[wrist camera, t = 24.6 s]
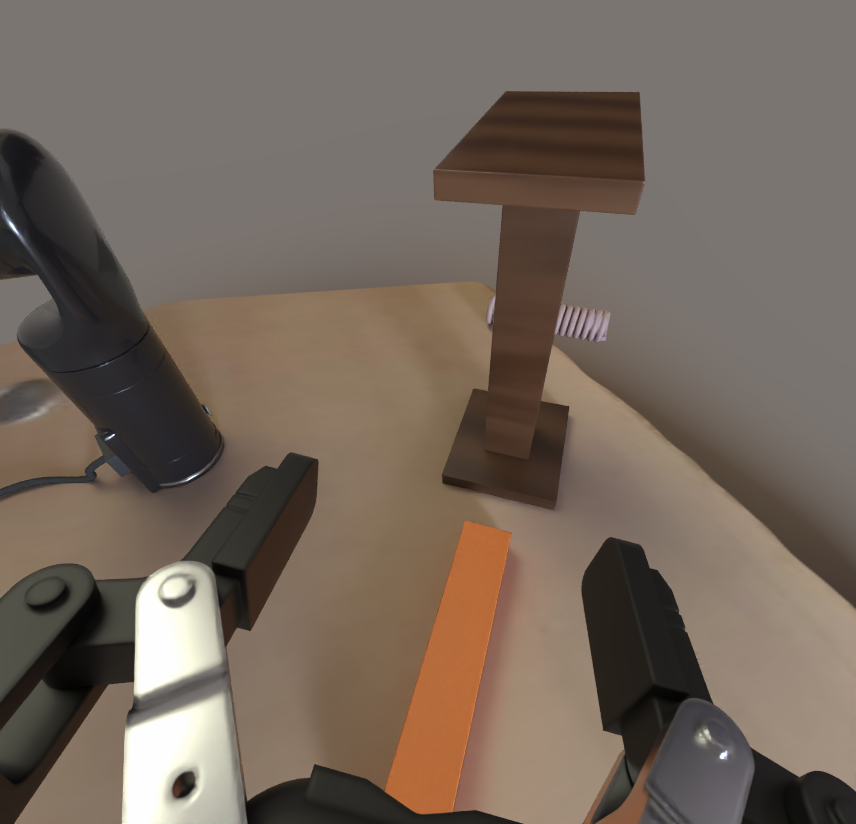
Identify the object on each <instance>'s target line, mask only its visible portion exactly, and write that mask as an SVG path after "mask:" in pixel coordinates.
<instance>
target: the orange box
mask: <svg viewBox="0 0 856 824" xmlns="http://www.w3.org/2000/svg"><path fill="white" fill-rule="evenodd" d="M510 538H511V533H510V532H506V531H502V530H499V529H495V528H491V527H487V526H484V525H480V524H476V523H473V522H469V521H465V523H464V526H463V529H462V533H461V536H460V539H459V543H458V546H457V549H456V553H455V556H454V559H453V563H452V566H451V569H450V573H449V576H448V580H447V583H446V586H445V590H444V593H443V596H442V600H441V603H440V606H439V610H438V613H437V616H436V620H435V623H434V626H433V630H432V633H431V636H430V640H429V643H428V646H427V650H426V653H425V656H424V660H423V663H422V666H421V670H420V673H419V677H418V680H417V683H416V687H415V690H414V693H413V697H412V700H411V703H410V707H409V710H408V713H407V717H406V720H405V723H404V727H403V730H402V733H401V737H400V740H399V743H398V747H397V750H396V753H395V757H394V760H393V763H392V767H391V770H390V773H389V777H388V780H387V784H386V787H385V790H384V791H385V792H386V793H388V794H389V795H390V796H392V797H393V798H395V799H396V800H398V801H399V802H401V803H402V804H403V805H405V806H406V807H408V808H409V809H411V810H412V811H414V812H416V813H418V814H434V813H447V812H453V807H454V803H455V798H456V793H457V788H458V784H459V779H460V774H461V770H462V765H463V760H464V755H465V751H466V746H467V741H468V737H469V732H470V727H471V722H472V718H473V713H474V708H475V704H476V699H477V694H478V689H479V685H480V680H481V675H482V670H483V666H484V661H485V656H486V652H487V647H488V642H489V637H490V633H491V628H492V623H493V619H494V614H495V609H496V604H497V600H498V595H499V590H500V586H501V581H502V576H503V571H504V567H505V562H506V557H507V553H508V548H509V543H510Z"/></svg>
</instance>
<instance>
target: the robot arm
mask: <svg viewBox="0 0 856 824" xmlns="http://www.w3.org/2000/svg"><path fill="white" fill-rule="evenodd" d="M34 275H38V276H39V278H40V279H41V280H42V282H43V283H44V285H45V286H46V288H47V289H48V291H49V293H50V294H51V296H52V299H51V300H49V301H47V302H46V303H44V304H42V305H41V306H39V307H38V308H36V309H35V310H34V311H32V312H31V313H30V314H29V315H28V316H27V317H26V318H25V319H24V321H23V322H22V323H21V324H20V326H19V328H18V331H17V339H18V342H19V344H20V346H21V347H22V349H23V350H24V351H25V352H26V353H27V355H28V356H29V357H30V358H31V359H32V360H33V361H34V362H35V363H36V364H37V365H38V366H39V367H40V368H41V369H42V370H43V371H44V372H45V373H46V374H47V376H48V377H49V378H50V379H51V380H52V381H53V382H54V383H55V384H56V385H57V386H58V387H59V388H60V389H61V390H62V391H63V393H64V394H65V395H66V396H67V397H68V398H69V399H70V400H71V401H72V402H73V403H74V404H75V405H76V406H77V407H78V408H79V410H80V411H81V412H82V413H83V414H84V415H85V416H86V417H87V418H88V419H89V420H90V421H91V422H92V423H93V424H94V426H95V428H96V430H97V433H98V434H96V435H95V438H96V440H97V442H98V445H99V447H100V449H101V451H102V454H103V456H101V457H100V458H98V459H97V460H95V461H94V462H92V463H91V464H90V465H89V466H88V467H87V468H86V470H85V474H86V476H79V477H41V478H34V479H29V480H25V481H22V482H18V483H15V484H12V485H10V486H7V487H4V488H2V489H0V496H2V495H5V494H7V493H10V492H12V491H15V490H18V489H21V488H25V487H28V486H33V485H39V484H51V483H83V482H89V481H91V480H94V479H95V478H96V477H97V474H96V473H95V472H94V470H95V469H96V468H98V467H99V466H101V465H102V464H104V463H105V462H107V463H108V464H109V465H110V466H111V467H112V468H113V469H114V470H115V471H116V472H117V473H118V474H119V475H120V476H121V477H123V476H125V475H127V474H129V473H130V472H132V473H133V474H134V475H135V476H136V477H137V478H138V479H139V480H140V481H141V482H142V483H143V484H144V485H145V486H146V487H147V488H148V489H149V490H150V491H151V492H152V493H154V492H156V491H157V490H159V489H161V488H171V487H177V486H181V485H184V484H187V483H189V482H191V481H193V480H195V479H197V478H199V477H200V476H202V475H203V474H205V473H206V472H207V471H208V470H209V469H210V468H212V466H213V465H214V464H215V463H216V462H217V460H218V459H219V457H220V455H221V453H222V450H223V444H224V443H223V438H222V436H221V434H220V432H219V431H218V430H217V428H216V427H215V425H214V424H213V422H212V421H211V420H210V418H209V417H208V415H207V414H209V415H211V413H210V412H209V410H208V409H207V407H206V406H204V405H202V404H200V402H199V401H198V399H197V397H196V396H195V394H194V393H193V391H192V389H191V388H190V386H189V385H188V383H187V382H186V380H185V378H184V377H183V375H182V374H181V372H180V370H179V369H178V367H177V366H176V364H175V362H174V361H173V359H172V358H171V356H170V354H169V353H168V351H167V350H166V348H165V347H164V345H163V343H162V342H161V340H160V339H159V337H158V335H157V334H156V332H155V331H154V329H153V327H152V326H151V324H150V323H149V321H148V320H147V318H146V316H145V315H144V313H143V311H142V310H141V308H140V306H139V303H138V301H137V298H136V296H135V293H134V290H133V288H132V285H131V283H130V281H129V279H128V277H127V276H126V274H125V272H124V270H123V268H122V266H121V265H120V263H119V261H118V259H117V258H116V256H115V254H114V252H113V250H112V249H111V247H110V245H109V243H108V241H107V240H106V238H105V236H104V234H103V232H102V230H101V228H100V226H99V225H98V223H97V221H96V219H95V217H94V215H93V213H92V211H91V210H90V208H89V206H88V204H87V203H86V201H85V199H84V197H83V196H82V194H81V192H80V190H79V189H78V187H77V186H76V184H75V183H74V181H73V180H72V178H71V177H70V175H69V174H68V172H67V171H66V170H65V168H64V167H63V166H62V165H61V163H60V162H59V161H58V160H57V159H56V158H55V157H54V156H53V155H52V154H51V153H50V152H49V151H48V150H47V149H46V148H45V147H44V146H43V145H42V144H40V143H39V142H38V141H36V140H35V139H34V138H32V137H30V136H29V135H27V134H25V133H23V132H20V131H16V130H13V129H7V128H0V280H3V279H11V278H19V277H27V276H34ZM317 480H318V460H317V459H315V458H311V457H307V456H303V455H299V454H296V453H292V452H291V453H289V454H288V455H287V456H286V457H285V459H284V460H283V462H282V463H281V464H280V466H279V467H278V469H275V468H272V467H268V466H265V467H263V468H261V469H260V470H258V471H257V472H255V473H253V474H252V475H250V476H248V477H247V479H246V480H245V481H244V483H243V484H242V485H241V486H240V488H239V489H238V490H237V491H236V494H235V495H233V497H232V498H231V499H230V500H229V502H228V503H227V505H226V507H224V508H223V509H222V511H221V512H220V513H219V514H218V516H217V517H216V518H215V519H214V521H213V522H212V523H211V524H210V526H209V527H208V528H207V530H206V531H205V532H204V533H203V535H202V536H201V537H200V538H199V540H198V541H197V542H196V544H195V545H194V546H193V547H192V549H191V550H190V551H189V552H188V554H187V555H186V556H185V557H184V558H183V559H182V560H181V561H180V562H175V563H172V564H169V565H167V566H165V567H163V568H161V569H159V570H157V571H156V572H155V573H153V574H152V575H151V576H148V577H143V578H131V579H108V580H95V579H94V577H93V575H92V573H91V571H89V570H88V569H87V568H86V567H84V566H81V565H78V564H71V563H70V564H57V565H53V566H49V567H46V568H43V569H40V570H38V571H36V572H34V573H32V574H30V575H28V576H26V577H25V578H23V579H22V580H20V581H19V582H18V583H16V584H15V585H14V586H13V587H12V588H11V589H10V590H9V591H8V592H7V593H5V594H4V595H3V596H2V597H1V598H0V824H14V823H15V821H16V820H17V818H18V817H19V815H20V814H21V812H22V811H23V809H24V808H25V806H26V805H27V804H28V802H29V801H30V799H31V798H32V796H33V795H34V793H35V792H36V790H37V789H38V787H39V786H40V784H41V783H42V781H43V780H44V778H45V777H46V776H47V774H48V773H49V771H50V770H51V768H52V767H53V765H54V764H55V762H56V761H57V759H58V758H59V756H60V755H61V753H62V752H63V750H64V749H65V748H66V746H67V745H68V743H69V742H70V740H71V739H72V737H73V736H74V734H75V733H76V731H77V730H78V728H79V727H80V725H81V724H82V722H83V721H84V720H85V718H86V717H87V715H88V714H89V712H90V711H91V709H92V708H93V706H94V705H95V703H96V702H97V700H98V699H99V697H100V696H101V694H102V693H103V692H104V690H105V689H106V687H107V686H108V684H116V683H127V682H134V702H133V707H132V709H131V710H130V711H129V712H128V715H127V720H126V728H125V748H124V779H123V810H122V824H522V823H519V822H515V821H512V820H508V819H505V818H501V817H498V816H494V815H491V814H487V813H484V812H480V811H477V810H473V811H460V812H447V813H434V814H418V813H416V812H414V811H412V810H411V809H409V808H408V807H406V806H405V805H403V804H402V803H401V802H399V801H398V800H396V799H395V798H393V797H392V796H390V795H389V794H388V793H386V792H385V791H383V790H382V789H380V788H379V787H377V786H376V785H374V784H373V783H372V782H370V781H369V780H367V779H365V778H361V777H358V776H354V775H351V774H347V773H344V772H340V771H337V770H333V769H330V768H326V767H323V766H319V765H316V764H314V767H313V770H312V774H311V777H310V778H302V779H295V780H291V781H287V782H283V783H281V784H278V785H276V786H273V787H271V788H269V789H267V790H265V791H263V792H261V793H259V794H258V795H256V796H254V797H253V798H252V799H250V800H249V801H247V796H246V789H245V781H244V774H243V766H242V759H241V752H240V745H239V738H238V731H237V724H236V717H235V709H234V702H233V694H232V687H231V680H230V672H229V665H228V657H227V650H226V646H227V644H228V642H229V640H230V639H231V637H232V635H233V633H234V632H235V630H236V628H237V627H238V628H242V629H245V630H249V631H251V629H252V627H253V625H254V624H255V622H256V620H257V618H258V616H259V614H260V612H261V610H262V609H263V607H264V605H265V603H266V601H267V599H268V597H269V595H270V594H271V592H272V590H273V588H274V586H275V584H276V582H277V580H278V578H279V577H280V575H281V573H282V571H283V569H284V567H285V565H286V563H287V562H288V560H289V558H290V556H291V554H292V552H293V550H294V548H295V547H296V545H297V543H298V541H299V539H300V537H301V535H302V533H303V532H304V530H305V528H306V526H307V524H308V522H309V520H310V518H311V516H312V513H313V510H314V507H315V503H316V497H317ZM581 590H582V599H583V605H584V612H585V618H586V624H587V630H588V637H589V643H590V649H591V656H592V662H593V668H594V675H595V681H596V687H597V694H598V700H599V706H600V712H601V719H602V725H603V731H607V732H610V733H614V734H618V735H621V736H622V738H623V743H624V750H623V751H622V752H621V753H620V754H619V756H618V758H617V760H616V761H615V763H614V765H613V767H612V769H611V771H610V773H609V775H608V777H607V778H606V780H605V782H604V784H603V786H602V788H601V790H600V792H599V794H598V795H597V797H596V799H595V801H594V803H593V805H592V807H591V809H590V811H589V812H588V814H587V816H586V818H585V820H584V822H583V824H856V791H854V790H853V789H852V788H851V787H850V786H848V785H847V784H846V783H844V782H843V781H841V780H840V779H838V778H836V777H835V776H833V775H831V774H828V773H826V772H822V771H812V772H809V773H807V774H805V775H803V776H801V777H798V776H796V775H795V774H793V773H791V772H790V771H788V770H786V769H785V768H783V767H781V766H780V765H778V764H777V763H775V762H773V761H772V760H770V759H768V758H767V757H765V756H763V755H762V754H760V753H758V752H757V751H755V750H754V749H752V748H751V747H750V746H749V744H748V742H747V740H746V738H745V736H744V735H743V733H742V731H741V730H740V729H739V727H738V726H737V725H736V724H735V722H734V721H733V720H732V719H731V718H730V717H729V716H728V715H727V714H726V713H725V712H723V711H722V710H721V709H720V708H718V707H717V706H715V705H714V704H713V702H712V699H711V697H710V694H709V692H708V689H707V686H706V683H705V681H704V678H703V675H702V672H701V669H700V667H699V664H698V661H697V658H696V656H695V653H694V650H693V647H692V645H691V642H690V639H689V636H688V634H687V632H685V625H684V622H683V620H682V617H681V615H679V609H678V606H677V603H676V600H675V598H674V595H673V592H672V590H671V588H670V587H669V586H668V584H667V583H666V581H665V580H664V579H663V577H662V576H661V575H660V573H659V572H658V570H654V569H650V568H649V565H648V562H647V559H646V556H645V552H644V550H643V548H642V547H641V546H640V545H639V544H635V543H631V542H627V541H623V540H620V539H616V538H612V537H610V538H608V539H606V541H605V542H604V543H603V545H602V546H601V548H600V550H599V551H598V553H597V554H596V556H595V557H594V559H593V560H592V562H591V563H590V565H589V566H588V568H587V569H586V571H585V573H584V576H583V580H582V589H581Z"/></svg>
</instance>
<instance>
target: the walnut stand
mask: <svg viewBox="0 0 856 824" xmlns="http://www.w3.org/2000/svg"><path fill="white" fill-rule="evenodd" d="M433 174H434V199H435V200H441V201H455V202H468V203H482V204H495V205H503V208H502V221H501V233H500V246H499V247H500V248H499V259H498V272H497V284H496V285H497V286H496V297H495V310H494V323H493V335H492V348H491V361H490V374H489V386H488V391H484V390H478V389H473V391H472V394H471V397H470V399H469V402H468V405H467V408H466V410H465V413H464V416H463V419H462V421H461V424H460V427H459V430H458V432H457V435H456V438H455V441H454V443H453V446H452V449H451V452H450V454H449V457H448V460H447V463H446V465H445V468H444V471H443V474H442V482H443V483H447V484H451V485H455V486H459V487H463V488H467V489H471V490H475V491H479V492H483V493H487V494H492V495H496V496H500V497H504V498H508V499H512V500H516V501H520V502H524V503H528V504H532V505H536V506H540V507H544V508H548V509H552V510H554V507H555V504H556V500H557V492H558V485H559V478H560V471H561V463H562V456H563V449H564V441H565V434H566V427H567V419H568V412H569V406H564V405H559V404H553V403H548V402H543V401H541V396H542V391H543V387H544V382H545V377H546V372H547V367H548V363H549V358H550V353H551V348H552V343H553V339H554V334H555V329H556V324H557V319H558V315H559V310H560V305H561V300H562V295H563V290H564V286H565V281H566V276H567V271H568V267H569V262H570V257H571V252H572V247H573V243H574V238H575V233H576V228H577V223H578V219H579V214H580V211H590V212H603V213H617V214H630V215H635V214H636V212H637V208H638V205H639V201H640V198H641V195H642V192H643V188H644V185H645V172H644V156H643V139H642V123H641V108H640V93H639V92H520V91H518V92H516V91H514V92H513V91H506V92H505V93H504V94H503V95H502V96H501V97H500V98H499V99H498V100H497V101H496V103H495V104H494V105H493V106H492V107H491V108H490V109H489V110H488V111H487V112H486V113H485V114H484V116H483V117H482V118H481V119H480V120H479V121H478V122H477V123H476V124H475V125H474V126H473V127H472V129H471V130H470V131H469V132H468V133H467V134H466V135H465V136H464V137H463V138H462V139H461V141H460V142H459V143H458V144H457V145H456V146H455V147H454V148H453V149H452V150H451V151H450V152H449V154H448V155H447V156H446V157H445V158H444V159H443V160H442V161H441V162H440V163H439V164H438V166H437V167H436V168H435V169H434V171H433Z"/></svg>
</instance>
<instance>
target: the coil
mask: <svg viewBox="0 0 856 824" xmlns="http://www.w3.org/2000/svg"><path fill="white" fill-rule="evenodd" d="M495 297H496V294H495V295H494V296H493V297H492V299H491V301H490V304H489V307H488V311H487V316H486V322H487V323H488V324H490V323H491V322H492V319H493V323H494V314H492V312H493V308H494V305H495ZM588 311H589V309H588V308H587V307H584V308H583V310H582V312H581V307H580V306H577V307H576V308H575V310H574V306H573V305H570V306H569V307H568V309H567V305H566V304H563V305H562V306H561V307H560V310H559V315H558V319H557V324H556V329H555V334H554V335H556V334H557V333H558V330H559V335H560V336H563V335H564V334H565V332H566V337H571V335H572V333H573V338H575V339H576V338H578V337H579V335H580V339H581V340H584V339H585V338H586V336H587V340H588V341H591V340H593V338H594V341H595V342H599V341H600V340H601V341H606V336H607V328H608V322H609V318H610V311H608V310H607V311H606V312H605V314H604V317H603V320H602V316H603V311H602V309H599V310H598V312H597V314H596V317H595V313H596V310H595V308H592V309H591V310H590V312H589V314H588ZM594 319H595V320H594ZM601 321H602V323H601Z"/></svg>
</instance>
